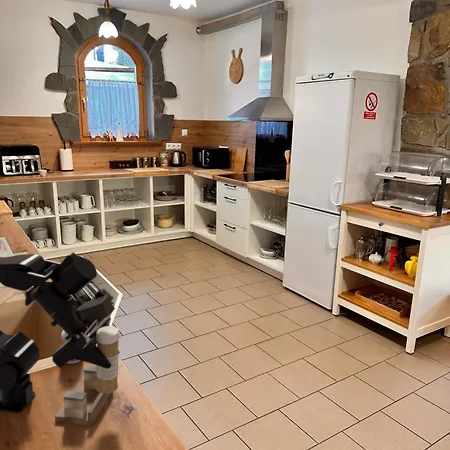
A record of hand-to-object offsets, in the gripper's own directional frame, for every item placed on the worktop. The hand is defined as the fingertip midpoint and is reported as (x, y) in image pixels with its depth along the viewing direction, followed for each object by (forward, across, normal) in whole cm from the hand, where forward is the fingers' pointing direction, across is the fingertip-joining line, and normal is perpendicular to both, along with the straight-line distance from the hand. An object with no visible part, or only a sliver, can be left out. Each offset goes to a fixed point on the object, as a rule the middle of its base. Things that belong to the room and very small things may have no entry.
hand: (113, 360), depth 88 cm
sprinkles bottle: (+4, 0, +6) cm, 7 cm away
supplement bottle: (-3, +18, +22) cm, 29 cm away
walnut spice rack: (+4, +2, +14) cm, 15 cm away
